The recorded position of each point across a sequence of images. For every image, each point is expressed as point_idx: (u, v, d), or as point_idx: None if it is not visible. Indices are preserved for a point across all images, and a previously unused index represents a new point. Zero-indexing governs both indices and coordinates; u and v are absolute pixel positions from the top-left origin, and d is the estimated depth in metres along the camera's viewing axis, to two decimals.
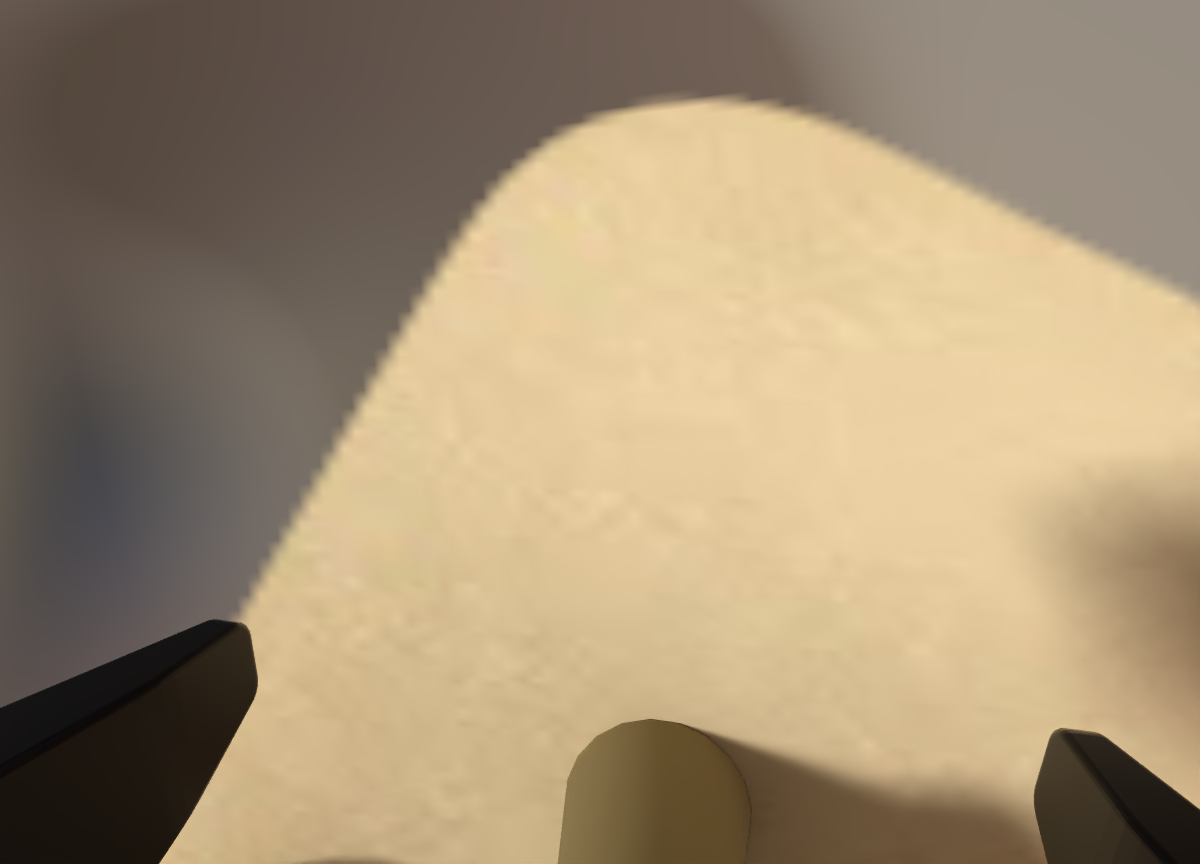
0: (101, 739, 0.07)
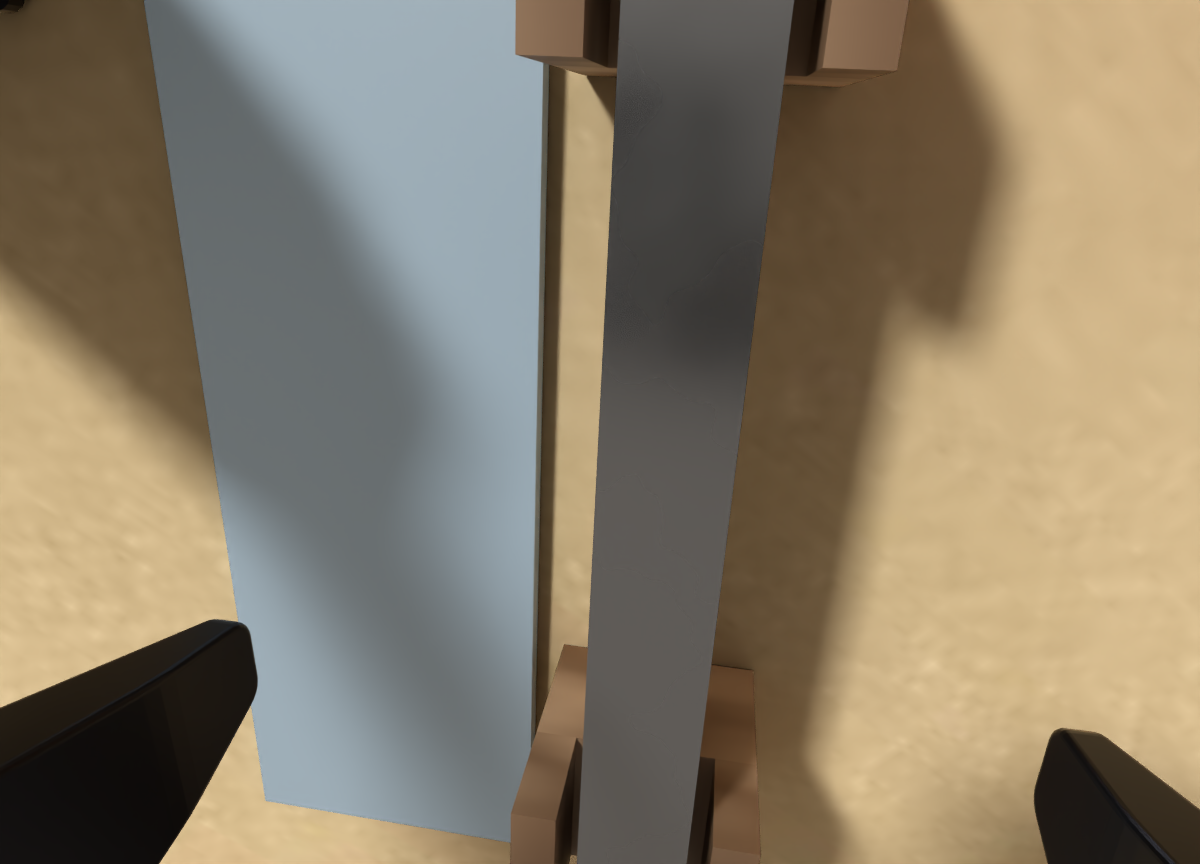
0: (101, 740, 0.07)
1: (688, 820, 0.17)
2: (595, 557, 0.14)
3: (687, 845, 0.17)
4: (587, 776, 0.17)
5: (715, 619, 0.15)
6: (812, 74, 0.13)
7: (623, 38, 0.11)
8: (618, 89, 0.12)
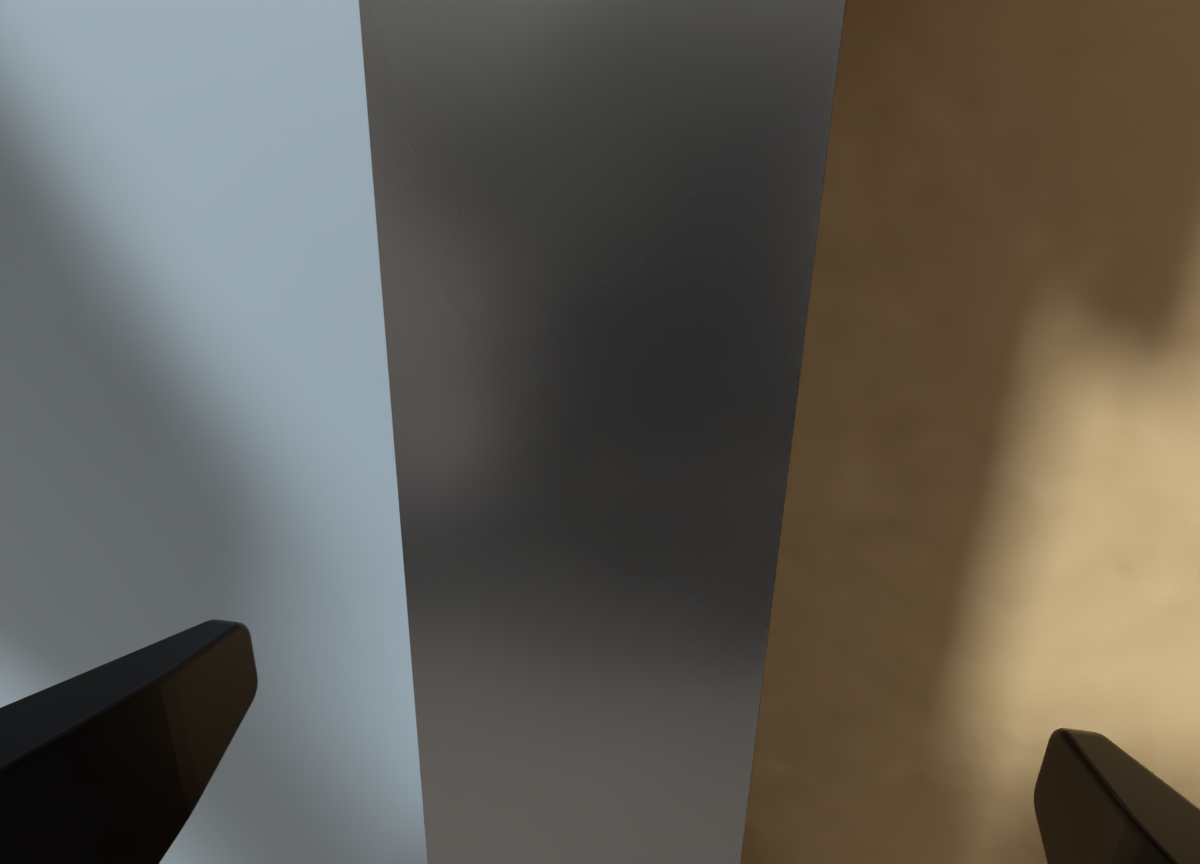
0: (101, 739, 0.07)
1: None
2: None
3: None
4: None
5: None
6: None
7: None
8: None
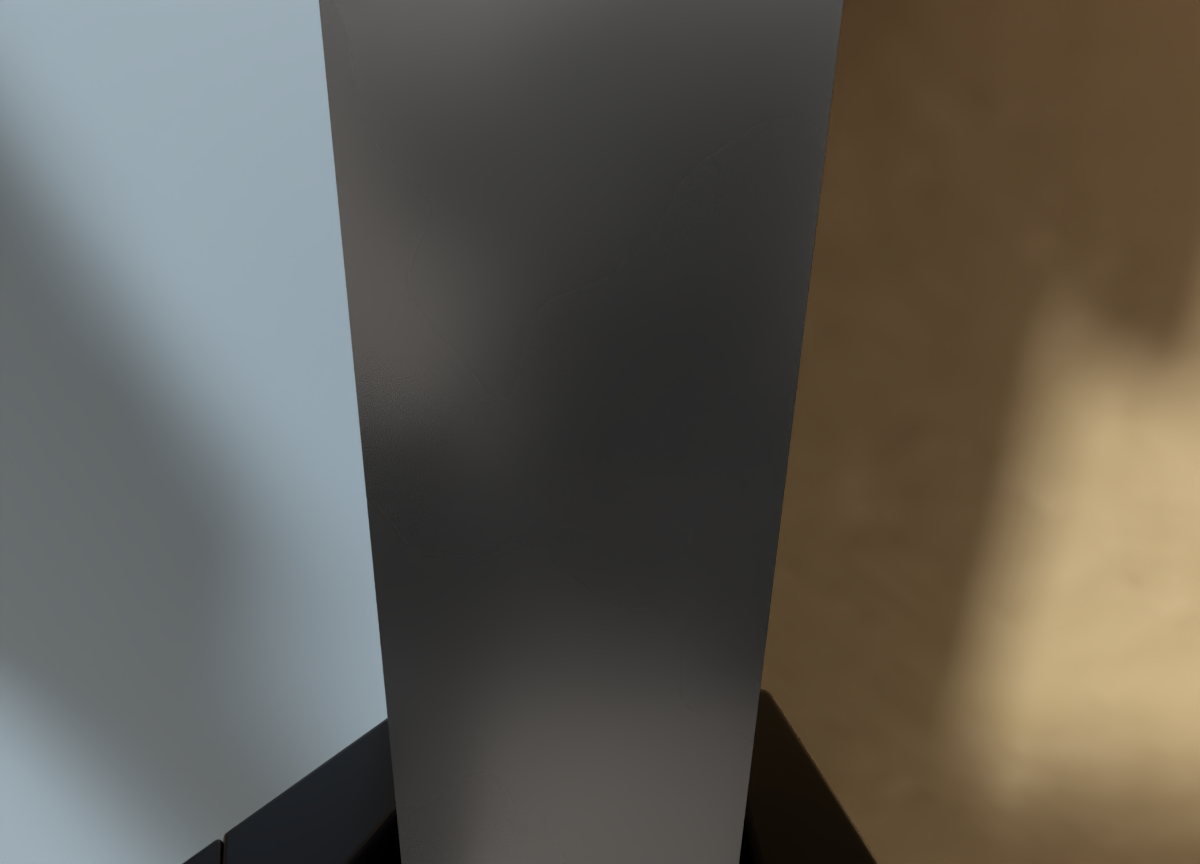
0: None
1: None
2: None
3: None
4: None
5: None
6: None
7: None
8: None
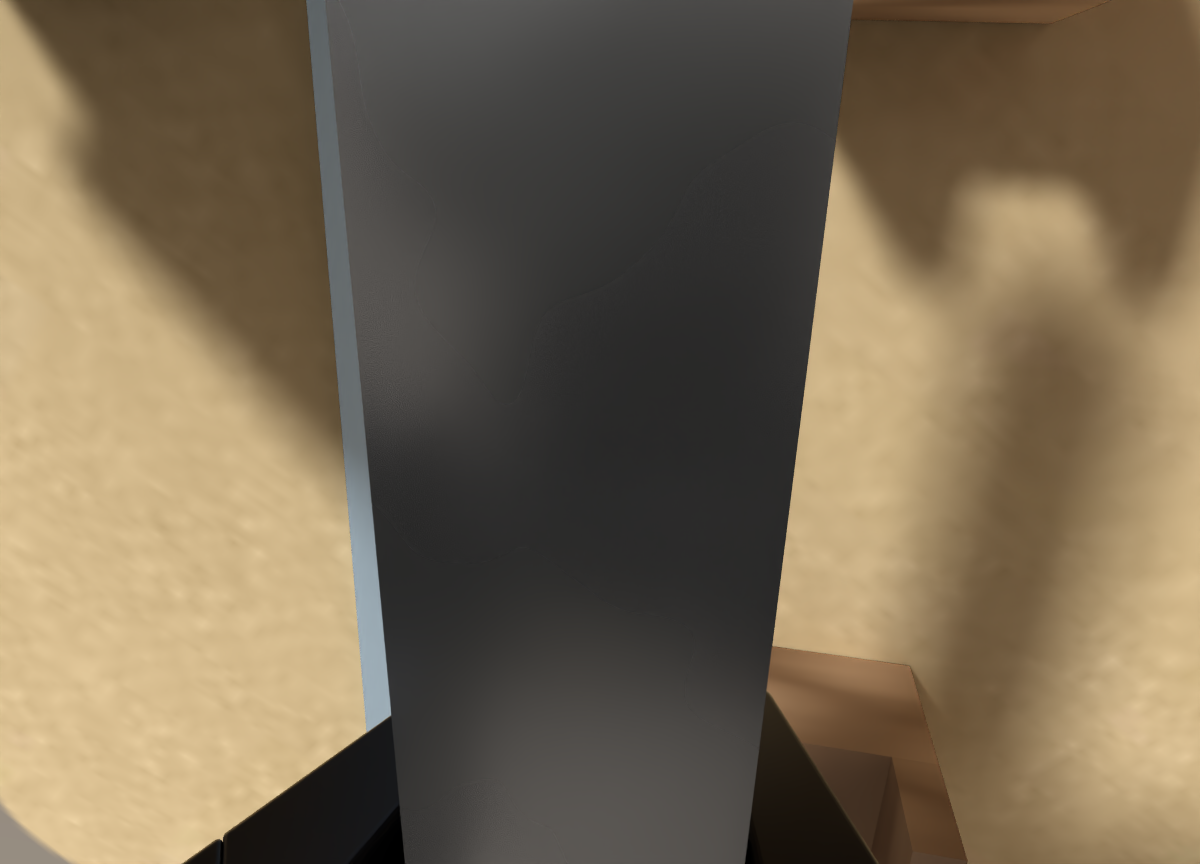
0: None
1: None
2: None
3: None
4: None
5: None
6: None
7: None
8: None
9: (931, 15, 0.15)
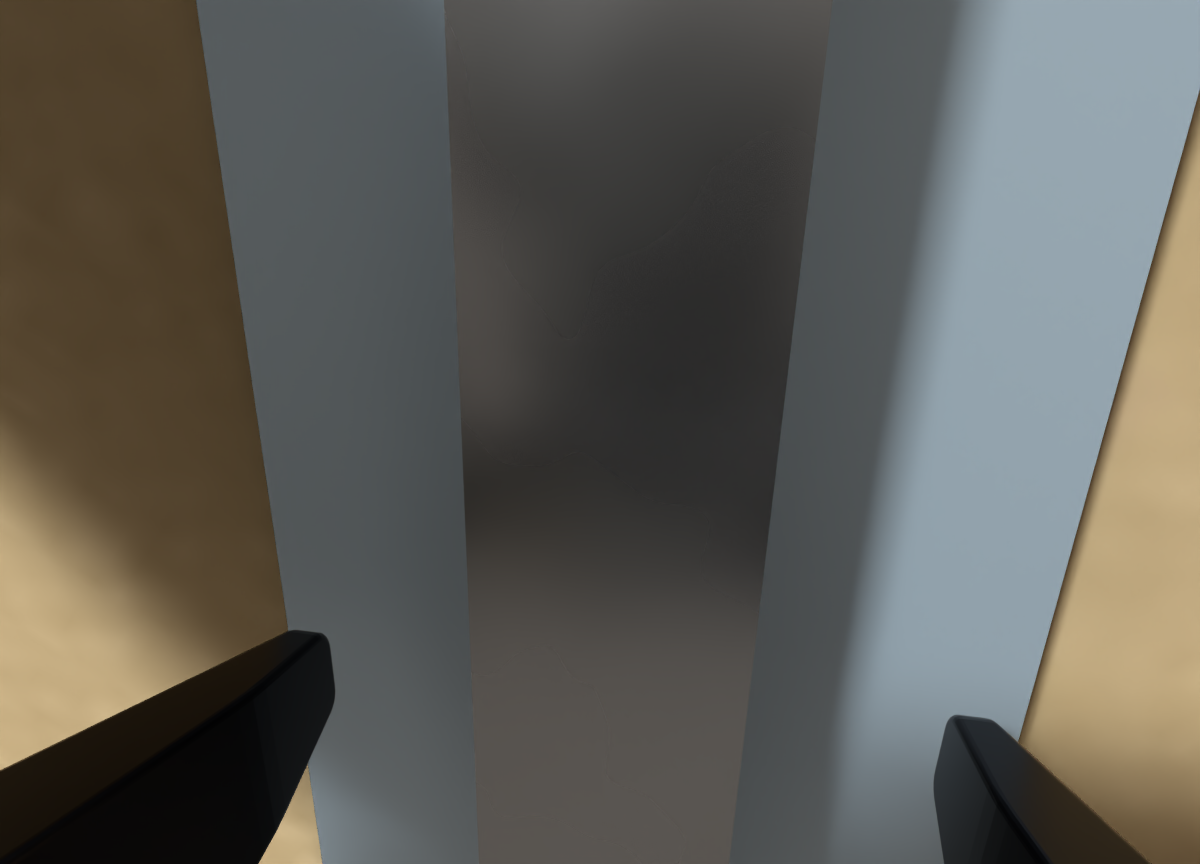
0: (201, 755, 0.07)
1: None
2: (481, 794, 0.07)
3: None
4: None
5: None
6: None
7: None
8: None
9: None
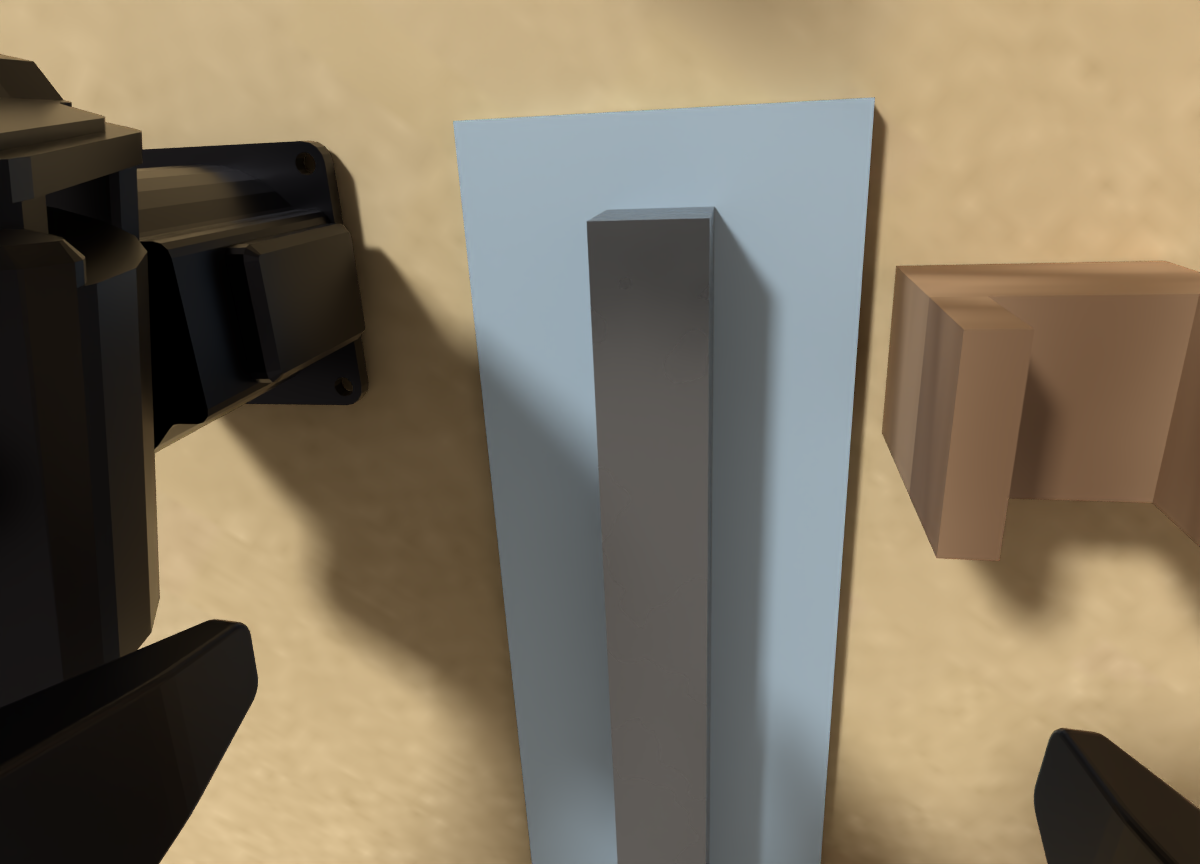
0: (101, 740, 0.07)
1: None
2: (615, 771, 0.20)
3: None
4: None
5: (704, 811, 0.20)
6: (1171, 518, 0.14)
7: (601, 465, 0.17)
8: (601, 493, 0.17)
9: None
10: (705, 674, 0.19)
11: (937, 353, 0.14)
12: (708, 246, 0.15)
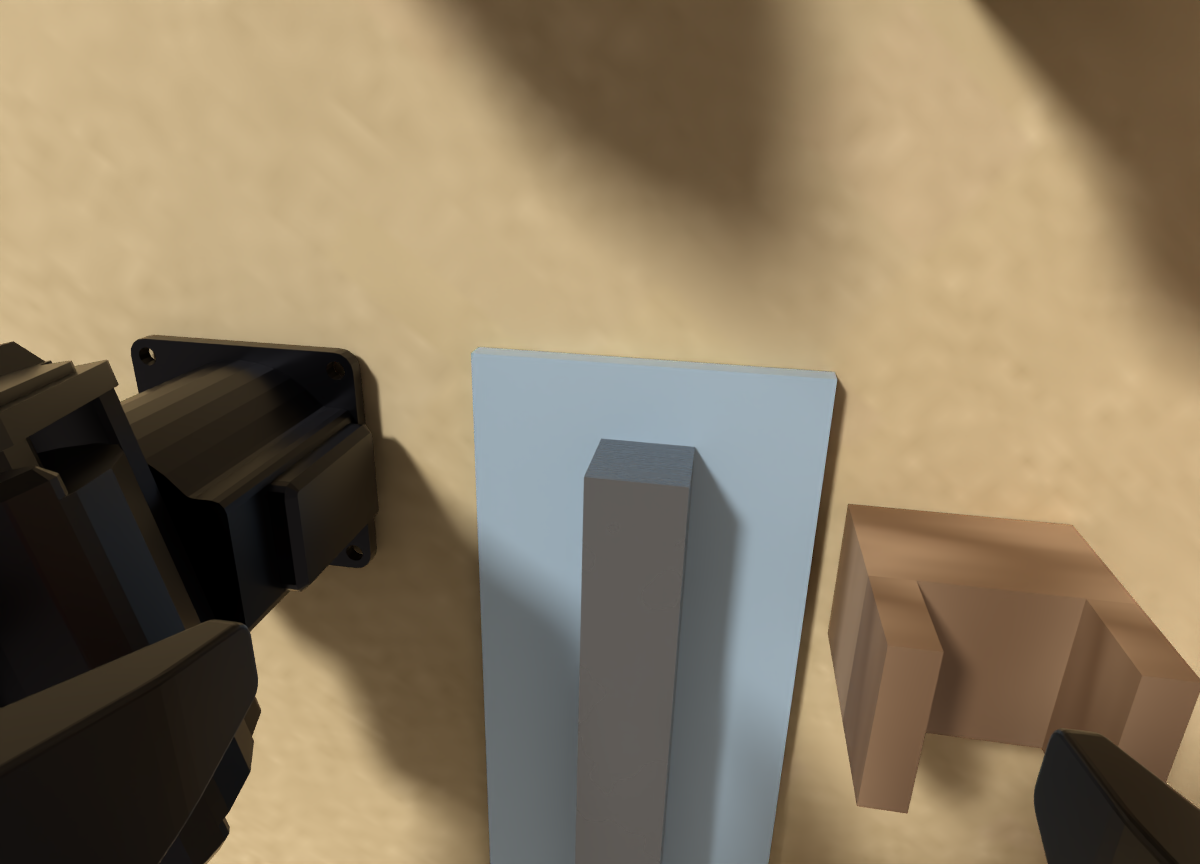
0: (102, 738, 0.07)
1: None
2: None
3: None
4: None
5: None
6: None
7: (582, 664, 0.20)
8: (580, 686, 0.20)
9: None
10: (660, 837, 0.21)
11: (869, 633, 0.16)
12: (686, 507, 0.18)
